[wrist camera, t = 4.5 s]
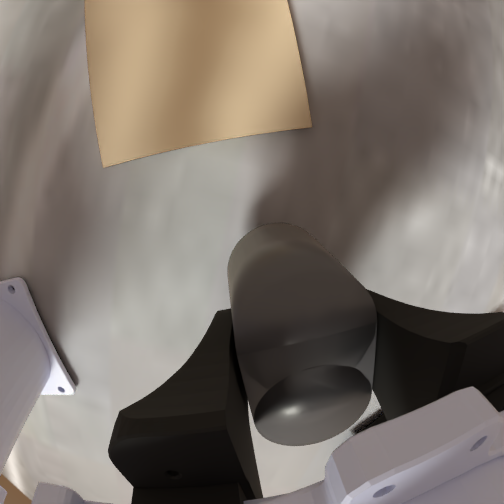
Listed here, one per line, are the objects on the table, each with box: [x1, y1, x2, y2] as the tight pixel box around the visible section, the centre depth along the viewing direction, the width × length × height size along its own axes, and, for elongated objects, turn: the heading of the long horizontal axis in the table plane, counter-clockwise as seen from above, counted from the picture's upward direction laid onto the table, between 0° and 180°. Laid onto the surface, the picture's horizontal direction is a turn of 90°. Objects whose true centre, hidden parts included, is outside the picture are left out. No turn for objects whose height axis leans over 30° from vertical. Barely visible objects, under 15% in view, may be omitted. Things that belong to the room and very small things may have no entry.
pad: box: [85, 0, 312, 168], centre depth 11 cm, size 9×9×1 cm
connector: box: [228, 223, 377, 446], centre depth 11 cm, size 9×4×5 cm, turn 9°
